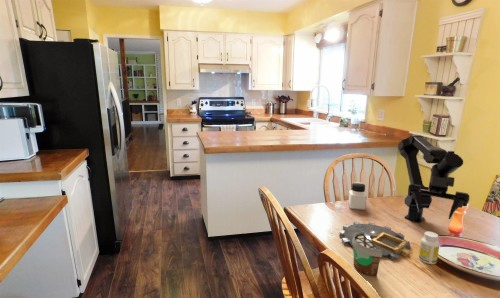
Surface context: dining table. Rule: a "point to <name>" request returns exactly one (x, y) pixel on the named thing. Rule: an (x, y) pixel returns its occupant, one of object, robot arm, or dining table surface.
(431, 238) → the supplement bottle
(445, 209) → the dining table surface
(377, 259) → the food container
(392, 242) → the sprocket
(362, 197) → the medicine bottle
